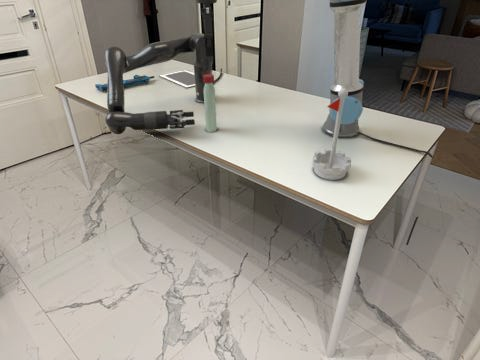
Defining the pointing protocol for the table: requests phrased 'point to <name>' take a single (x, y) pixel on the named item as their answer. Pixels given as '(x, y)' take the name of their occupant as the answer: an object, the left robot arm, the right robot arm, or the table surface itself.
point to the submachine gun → (127, 82)
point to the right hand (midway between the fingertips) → (208, 52)
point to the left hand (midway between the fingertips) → (194, 117)
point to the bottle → (210, 107)
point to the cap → (208, 78)
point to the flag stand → (333, 149)
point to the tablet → (181, 78)
